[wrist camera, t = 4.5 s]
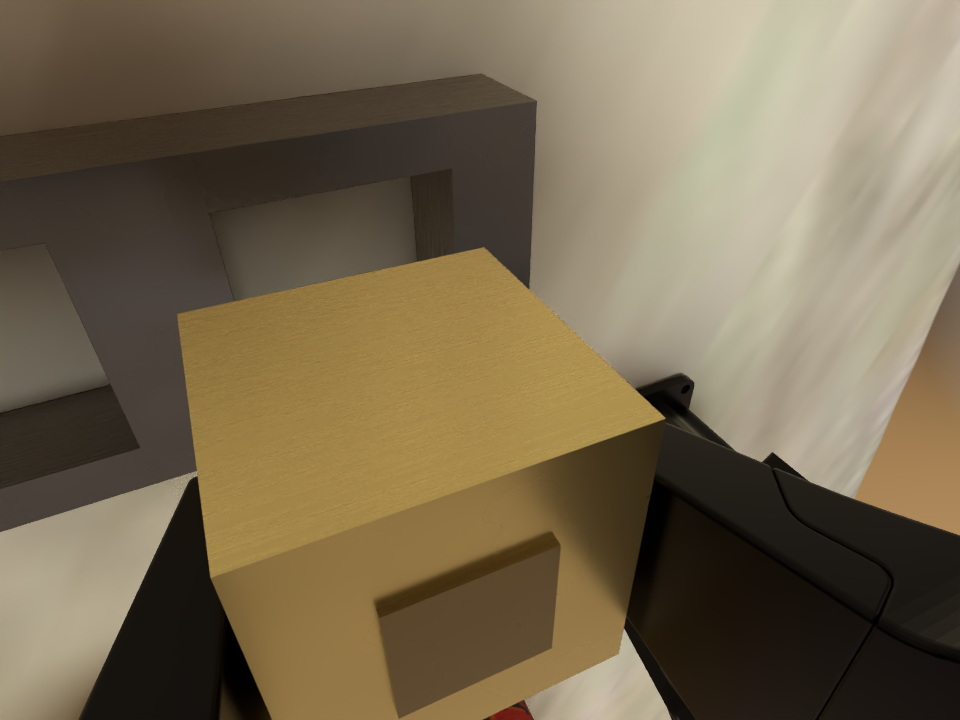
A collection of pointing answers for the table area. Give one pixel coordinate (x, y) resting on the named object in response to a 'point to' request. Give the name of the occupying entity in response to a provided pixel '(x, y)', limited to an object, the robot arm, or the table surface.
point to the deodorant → (513, 713)
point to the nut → (415, 490)
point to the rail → (195, 253)
